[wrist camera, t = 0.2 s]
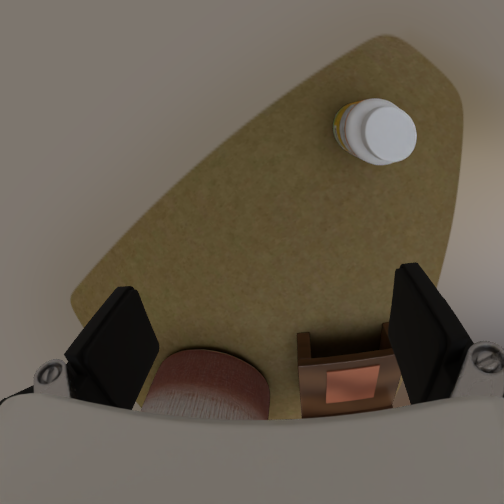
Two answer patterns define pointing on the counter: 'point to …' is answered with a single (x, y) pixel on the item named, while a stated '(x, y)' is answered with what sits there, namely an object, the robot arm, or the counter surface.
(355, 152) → the supplement bottle
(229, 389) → the planter
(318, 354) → the counter surface
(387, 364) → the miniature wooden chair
